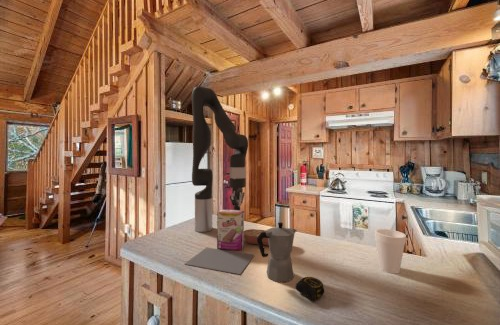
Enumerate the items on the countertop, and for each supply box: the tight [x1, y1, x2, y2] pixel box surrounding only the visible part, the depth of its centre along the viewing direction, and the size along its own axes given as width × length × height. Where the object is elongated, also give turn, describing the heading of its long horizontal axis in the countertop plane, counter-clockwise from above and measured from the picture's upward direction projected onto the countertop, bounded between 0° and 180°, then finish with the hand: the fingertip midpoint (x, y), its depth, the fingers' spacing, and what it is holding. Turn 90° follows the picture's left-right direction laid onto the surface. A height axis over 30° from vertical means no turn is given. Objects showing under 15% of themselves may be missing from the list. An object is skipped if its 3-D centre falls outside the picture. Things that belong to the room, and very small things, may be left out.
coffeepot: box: [257, 221, 297, 283], centre depth 76 cm, size 15×9×18 cm, turn 116°
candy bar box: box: [216, 209, 245, 251], centre depth 99 cm, size 11×5×16 cm, turn 84°
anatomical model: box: [244, 228, 269, 247], centre depth 103 cm, size 23×10×5 cm, turn 67°
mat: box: [184, 246, 255, 276], centre depth 88 cm, size 16×22×1 cm
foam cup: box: [374, 228, 407, 274], centre depth 81 cm, size 10×9×13 cm
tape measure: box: [295, 276, 325, 302], centre depth 66 cm, size 7×7×4 cm
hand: (237, 213), depth 106 cm, fingers closed
